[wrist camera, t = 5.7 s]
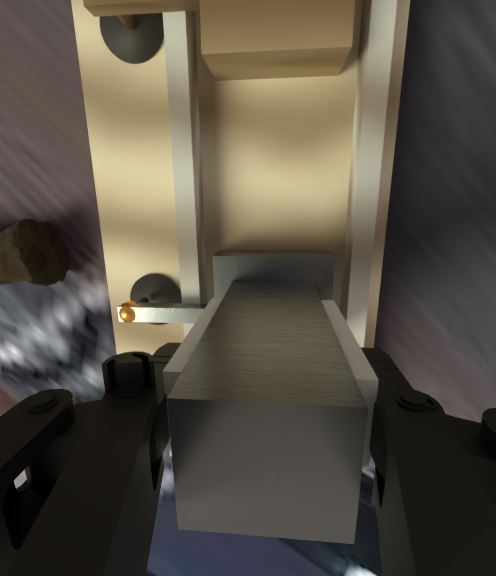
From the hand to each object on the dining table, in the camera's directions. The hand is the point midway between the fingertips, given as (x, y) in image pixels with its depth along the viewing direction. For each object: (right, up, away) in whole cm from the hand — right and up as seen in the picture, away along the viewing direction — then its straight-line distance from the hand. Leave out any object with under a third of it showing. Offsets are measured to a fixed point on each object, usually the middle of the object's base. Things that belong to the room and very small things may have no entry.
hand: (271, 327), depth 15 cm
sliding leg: (-2, +1, +4) cm, 5 cm away
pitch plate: (-1, +5, +5) cm, 8 cm away
